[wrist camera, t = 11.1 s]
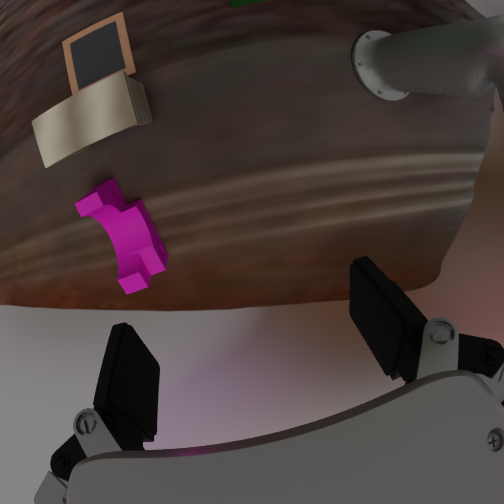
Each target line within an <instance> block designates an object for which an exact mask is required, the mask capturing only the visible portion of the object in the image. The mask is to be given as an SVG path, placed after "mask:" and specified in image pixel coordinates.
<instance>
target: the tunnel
mask: <svg viewBox="0 0 504 504" xmlns="http://www.w3.org/2000/svg"><path fill="white" fill-rule="evenodd" d="M151 122H153V118H152V115H151V111H150V107H149V104H148V100H147V96H146V93H145V89H144V85H143V83H141V82H139V81H137V80H135V79H132V78H130V77H128V76H127V72H125V71H122V72H119V73H117V74H115V75H112V76H110V77H108V78H106V79H104V80H102V81H100V82H98V83H95V84H93V85H92V86H90V87H88V88H86V89H84V90H82V91H80V92H78V93H76V94H75V95H73V96H71V97H69V98H68V99H66V100H64V101H62V102H61V103H59V104H58V105H56V106H54V107H53V108H51V109H50V110H48V111H46V112H45V113H43V114H42V115H40V116H39V117H37V118H36V119H35V120H33V121H32V125H33V128H34V132H35V136H36V139H37V143H38V146H39V149H40V153H41V156H42V159H43V162H44V165H45V168H47V167H49V166H51V165H53V164H55V163H57V162H59V161H62V160H64V159H66V158H68V157H71V156H73V155H75V154H78V153H80V152H83V151H85V150H87V149H89V148H92V147H91V144H93V143H95V142H97V141H99V140H101V139H103V138H106V137H108V136H110V135H112V134H115V133H117V132H119V131H122V130H124V129H126V128H130V127H135V126H140V125H144V124H148V123H151Z"/></svg>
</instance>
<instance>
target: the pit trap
mask: <svg viewBox="0 0 504 504" xmlns="http://www.w3.org/2000/svg"><path fill="white" fill-rule="evenodd" d="M63 49H64V55H65V61H66V66H67V71H68V76H69V81H70V86H71V90H72V94H73V95H75V94H76V93H78V92H80V91H82V90H84V89H86V88H88V87H90V86H92V85H93V84H95V83H98V82H100V81H102V80H104V79H106V78H108V77H110V76H112V75H115V74H117V73H119V72H122V71H125V72H127V76H129V75H131V74H133V73H136V68H135V64H134V60H133V56H132V52H131V47H130V43H129V38H128V34H127V29H126V24H125V19H124V14H123V12H120V13H118V14H116V15H113V16H111V17H109V18H107V19H105V20H102V21H100V22H98V23H96V24H94V25H92V26H90V27H88V28H86V29H84V30H83V31H81V32H79V33H77V34H75V35H73V36H72V37H70V38H68V39H67V40H65V41H63Z"/></svg>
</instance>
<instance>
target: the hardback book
mask: <svg viewBox="0 0 504 504" xmlns="http://www.w3.org/2000/svg"><path fill="white" fill-rule="evenodd" d="M262 1H267V0H230V6H231V8H234V7H238V6H242V5H247V4H252V3H257V2H262Z"/></svg>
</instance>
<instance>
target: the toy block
mask: <svg viewBox="0 0 504 504" xmlns="http://www.w3.org/2000/svg"><path fill="white" fill-rule="evenodd" d="M75 205H76V207H77V209H78V211H79V213H80V215H81V217H83V216H91V217H93V218H95V219H97V220H98V221H99V222H100V223H101V224H102V225H103V227H104V228H105V229H106V231H107V233H108V234H109V236H110V238H111V240H112V243H113V245H114V248H115V251H116V255H117V259H118V267H119V275H118V282H119V283H120V285H121V286H122V288H123V289H124V291H125V292H126V294H129V293H132V292H135V291H138V290H141V289H144V288H147V287H148V286H149V282H150V278H151V275H153V274H156V273H159V272H161V271H164V270H166V266H167V261H168V254H167V252H166V250H165V248H164V246H163V244H162V242H161V240H160V238H159V236H158V234H157V232H156V230H155V228H154V225H153V223H152V221H151V219H150V217H149V215H148V213H147V211H146V209H145V206H144V204H143V202H142V200H141V199H139V200H136V201H134V202H132V203H130V204H128V205H127V204H126V202H125V200H124V198H123V196H122V194H121V191H120V189H119V187H118V185H117V182H116V180H115V178H112V179H110V180H108V181H106V182H104V183H102V184H100V185H98V186H97V187H95V188H93V189H92V190H91V191H90V192H88V193H87V194H86V195H85V196H84V197H82V198H81V199H80V200H79V201H78V202H76V203H75Z"/></svg>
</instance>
